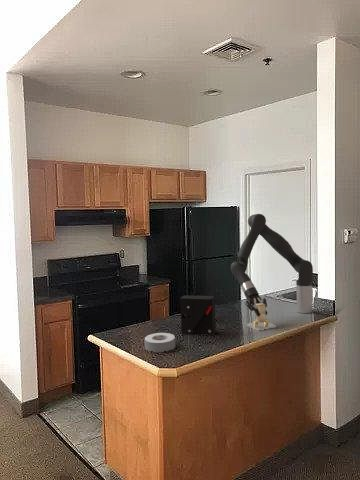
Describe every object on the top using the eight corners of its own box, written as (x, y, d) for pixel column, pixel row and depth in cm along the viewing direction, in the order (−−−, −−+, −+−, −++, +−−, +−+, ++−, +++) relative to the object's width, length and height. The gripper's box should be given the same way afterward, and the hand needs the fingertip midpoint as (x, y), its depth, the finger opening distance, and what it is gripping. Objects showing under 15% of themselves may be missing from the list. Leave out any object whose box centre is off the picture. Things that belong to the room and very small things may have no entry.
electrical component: (216, 330, 224) (215, 295, 223) (212, 336, 215) (210, 299, 213) (186, 328, 230) (185, 294, 229) (181, 334, 220) (179, 298, 219)
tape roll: (178, 350, 196) (177, 340, 195) (147, 354, 193) (146, 343, 192) (172, 340, 211) (171, 331, 210) (143, 344, 208) (142, 334, 207)
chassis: (246, 325, 231) (246, 319, 231) (263, 322, 236) (263, 316, 236) (258, 330, 220) (258, 324, 220) (276, 327, 225) (276, 321, 225)
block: (255, 321, 229) (255, 304, 228) (261, 320, 231) (261, 303, 230) (260, 322, 225) (259, 305, 224) (265, 321, 227) (265, 304, 226)
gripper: (242, 288, 230) (255, 313, 220) (262, 285, 236) (275, 309, 226) (237, 295, 235) (249, 320, 225) (257, 292, 241) (270, 317, 231)
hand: (262, 315), depth 226 cm, fingers closed on block, 4 cm apart
